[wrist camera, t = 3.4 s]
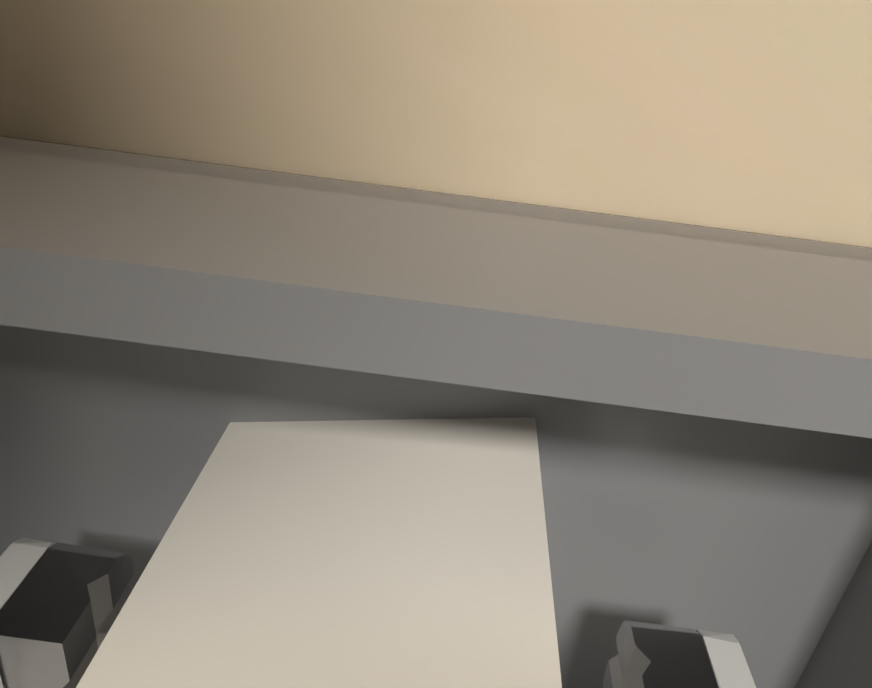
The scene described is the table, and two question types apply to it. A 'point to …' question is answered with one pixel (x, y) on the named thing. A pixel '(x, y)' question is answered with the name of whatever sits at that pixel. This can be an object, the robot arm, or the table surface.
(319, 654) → the white cube
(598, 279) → the tray
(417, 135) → the table surface
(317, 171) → the table surface
